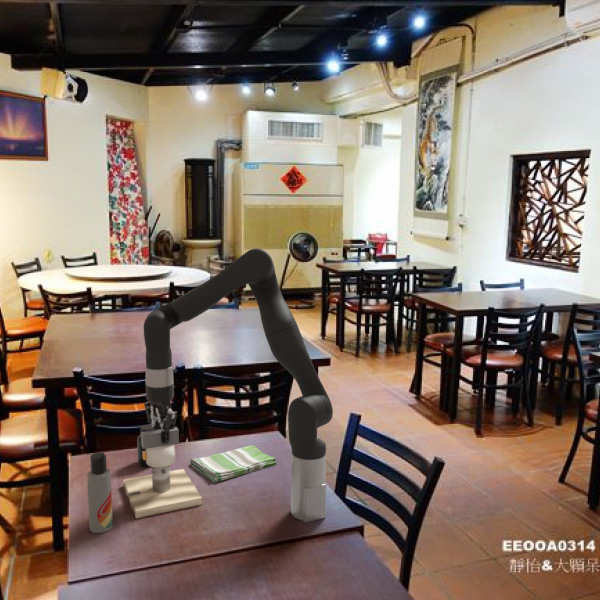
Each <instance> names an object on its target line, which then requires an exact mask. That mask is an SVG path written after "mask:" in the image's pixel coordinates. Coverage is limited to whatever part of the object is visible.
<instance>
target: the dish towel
mask: <svg viewBox="0 0 600 600" xmlns="http://www.w3.org/2000/svg"><path fill="white" fill-rule="evenodd" d="M276 460H277V458H276V457H275V456H270V455H268V454H266V453H264V452H262V451H261V450H260V449H259V448H258V447H257V446H255V445H251V444H250V445H246V446H244V447H239V448H234V449H231V450H228V451H225V452H220V453H216V454H211V455H208V456H203V457H193V458H192V459H190V461H189V464H190V466H191V465H192V466H193V467H192V466H191V467H192V468H194V469H195V470H197V471H198V472H199V473H201V474H202V475H203V476H205V477H206V479H208V480H210V481H211V482H213V483H214V484H215V483H218V482H221V481H226V480H228V479H233V478H236V477H240V476H243V475H246V474H249V473H253V471H254V472H256V471H260V470H263V469H267V468H270V467H274V466H277V462H276Z"/></svg>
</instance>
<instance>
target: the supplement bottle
mask: <svg viewBox="0 0 600 600" xmlns="http://www.w3.org/2000/svg"><path fill="white" fill-rule="evenodd" d="M146 431H153V427H152V424H145V425H142V426H141V427H140V431H139V432H140V435H138V436H137V441H136V442H137V448H136V449H137V464H138V465H139V466H141V467H144V468H146V467H148V468H149V467H151V466H149V465H147V463H146V460H143V454H142V451H146V449H143V447H142V441H141V432H146Z"/></svg>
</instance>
